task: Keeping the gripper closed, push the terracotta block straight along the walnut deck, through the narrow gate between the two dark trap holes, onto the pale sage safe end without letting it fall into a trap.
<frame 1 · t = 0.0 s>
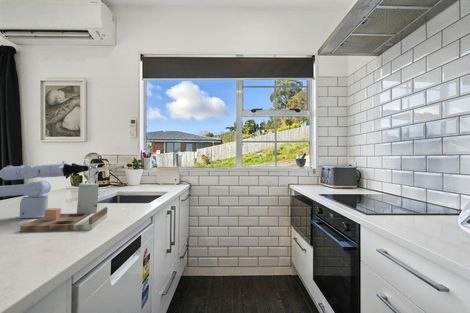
hand: (85, 168, 122), 22 cm above the counter, tool horizontal, fingers open, 7 cm apart
terracotta block: (52, 219, 105), point 2 cm above the counter, touching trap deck
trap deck: (69, 223, 106), on the counter
skincare box: (87, 216, 122), on the counter
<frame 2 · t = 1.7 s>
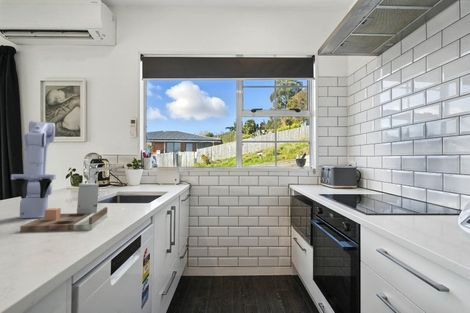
hand: (33, 198, 103), 10 cm above the counter, tool pointing down, fingers open, 6 cm apart
nothing on the counter moved.
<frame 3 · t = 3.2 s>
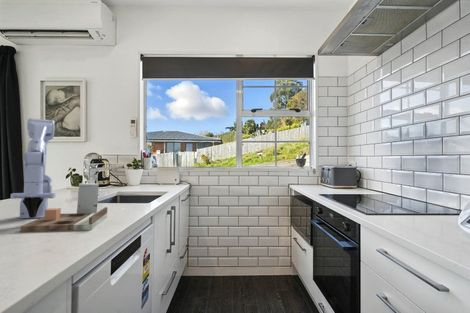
hand: (32, 216, 103), 3 cm above the counter, tool pointing down, fingers closed
nothing on the counter moved.
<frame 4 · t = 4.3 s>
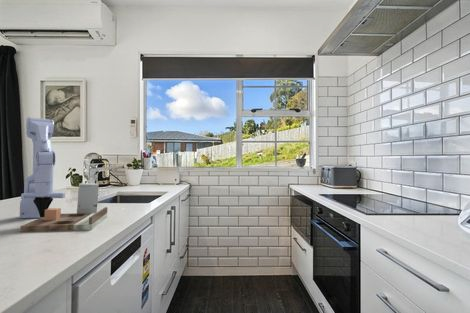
hand: (42, 216, 104), 3 cm above the counter, tool pointing down, fingers closed
terracotta block: (52, 219, 105), point 2 cm above the counter, touching gripper, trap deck
everything else where it was.
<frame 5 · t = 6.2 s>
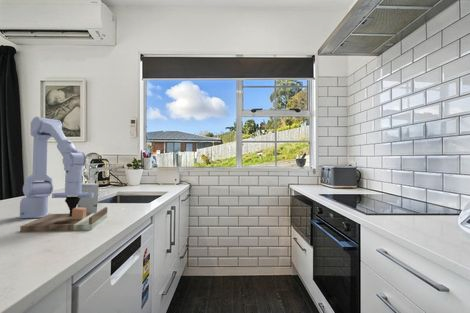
hand: (72, 215, 106), 3 cm above the counter, tool pointing down, fingers closed, pressing on terracotta block
terracotta block: (78, 218, 107), point 2 cm above the counter, touching gripper, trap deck
everything else where it was.
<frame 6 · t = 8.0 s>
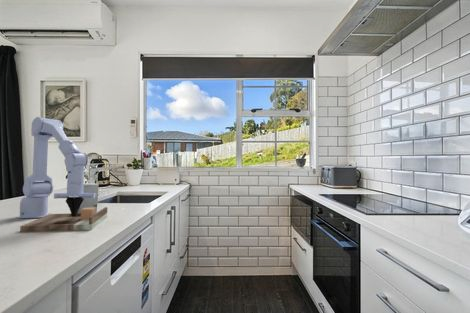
hand: (74, 216, 106), 3 cm above the counter, tool pointing down, fingers closed
terracotta block: (87, 218, 107), point 2 cm above the counter, touching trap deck
everything else where it was.
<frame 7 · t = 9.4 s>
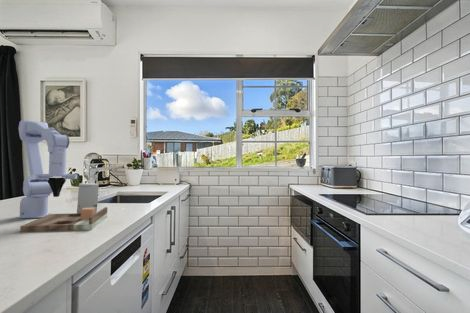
hand: (56, 196, 109), 10 cm above the counter, tool pointing down, fingers closed
nothing on the counter moved.
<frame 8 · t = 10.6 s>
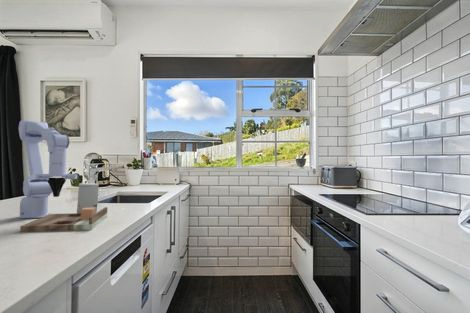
hand: (56, 196, 109), 10 cm above the counter, tool pointing down, fingers closed
nothing on the counter moved.
at the end: terracotta block inside the target area (1.0 cm from its centre), point 2.0 cm above the counter; terracotta block tilted 0° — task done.
